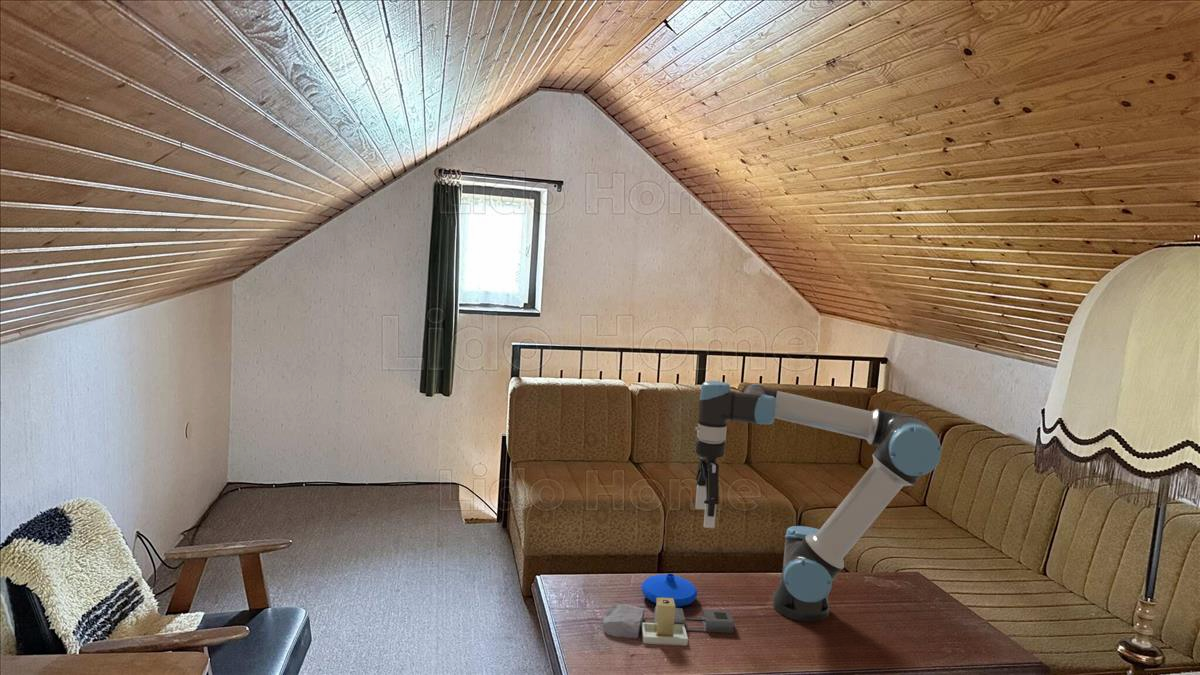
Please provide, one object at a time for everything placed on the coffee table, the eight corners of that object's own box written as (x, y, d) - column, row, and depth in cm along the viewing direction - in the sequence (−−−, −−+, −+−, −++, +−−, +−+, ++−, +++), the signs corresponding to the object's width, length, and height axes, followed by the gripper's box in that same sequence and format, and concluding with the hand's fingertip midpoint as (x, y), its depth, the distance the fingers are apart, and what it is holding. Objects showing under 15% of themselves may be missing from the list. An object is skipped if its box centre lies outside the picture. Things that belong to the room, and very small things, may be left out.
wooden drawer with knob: (670, 631, 184) (673, 598, 183) (672, 640, 180) (675, 606, 179) (654, 631, 184) (656, 597, 183) (655, 639, 180) (658, 605, 179)
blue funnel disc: (633, 586, 208) (635, 563, 207) (684, 584, 212) (687, 561, 211) (650, 615, 193) (652, 590, 192) (705, 611, 197) (707, 587, 196)
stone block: (601, 642, 182) (641, 640, 180) (599, 623, 181) (638, 621, 180) (609, 620, 193) (646, 619, 191) (607, 603, 193) (644, 601, 191)
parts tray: (683, 631, 186) (683, 624, 185) (687, 645, 179) (687, 638, 178) (640, 629, 185) (641, 622, 185) (643, 643, 178) (643, 636, 178)
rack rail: (728, 621, 192) (729, 610, 192) (733, 633, 186) (734, 621, 186) (653, 617, 191) (654, 606, 191) (656, 629, 186) (657, 618, 185)
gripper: (689, 427, 202) (683, 501, 205) (704, 452, 178) (698, 535, 180) (716, 429, 203) (710, 502, 205) (735, 453, 178) (727, 536, 180)
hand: (704, 517), depth 193 cm, fingers open, 13 cm apart
